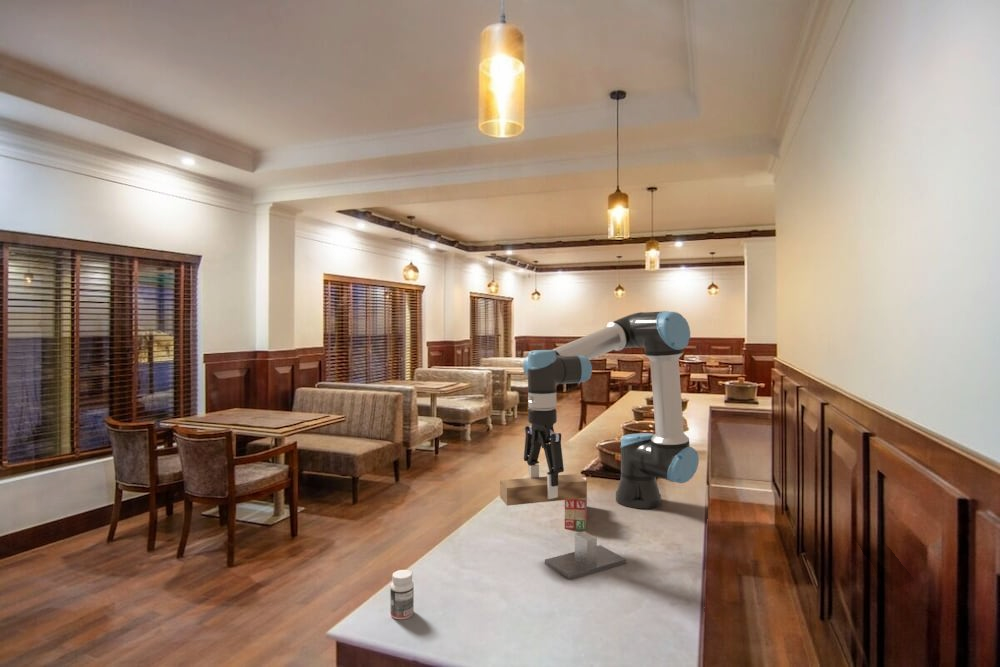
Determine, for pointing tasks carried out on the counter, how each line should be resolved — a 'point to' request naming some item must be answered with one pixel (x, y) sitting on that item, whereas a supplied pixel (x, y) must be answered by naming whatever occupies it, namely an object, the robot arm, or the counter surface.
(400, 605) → the pill bottle
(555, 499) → the board
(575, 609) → the counter surface
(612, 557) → the fulcrum
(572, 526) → the stack of blocks
